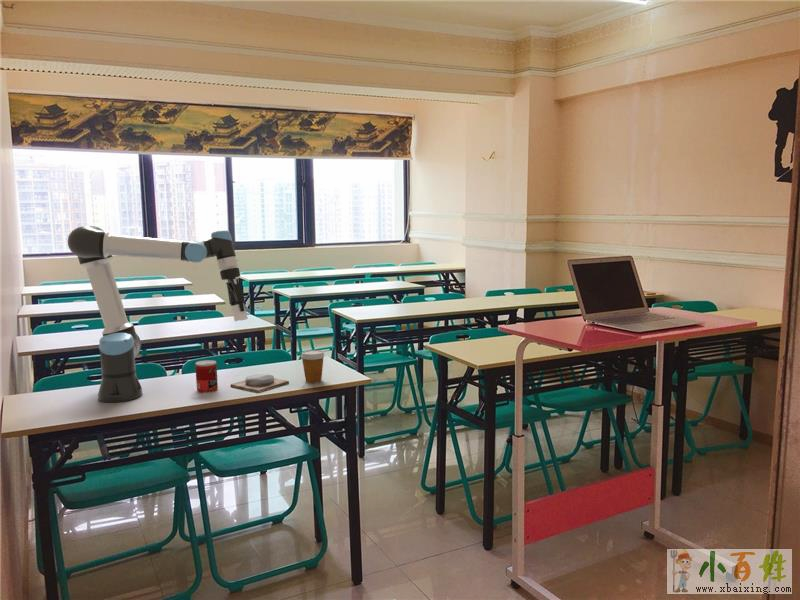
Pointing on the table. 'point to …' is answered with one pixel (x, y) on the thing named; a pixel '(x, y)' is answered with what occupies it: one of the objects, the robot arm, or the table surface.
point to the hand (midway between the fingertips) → (241, 320)
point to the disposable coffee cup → (313, 365)
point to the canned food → (206, 376)
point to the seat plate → (258, 388)
